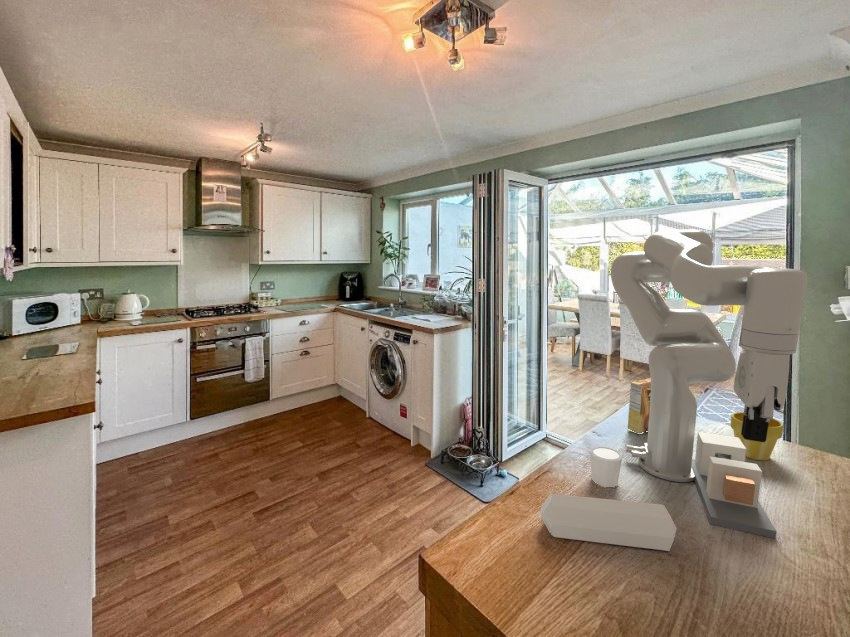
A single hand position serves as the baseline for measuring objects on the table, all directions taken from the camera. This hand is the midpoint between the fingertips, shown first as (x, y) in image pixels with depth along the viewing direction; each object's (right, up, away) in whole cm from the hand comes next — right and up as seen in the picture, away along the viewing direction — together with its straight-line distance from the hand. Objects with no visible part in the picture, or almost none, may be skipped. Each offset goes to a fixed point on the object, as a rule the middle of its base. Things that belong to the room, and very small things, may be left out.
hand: (753, 438), depth 71 cm
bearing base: (+6, -17, +15) cm, 23 cm away
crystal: (-25, -20, +4) cm, 32 cm away
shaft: (+7, -13, +15) cm, 21 cm away
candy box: (+6, -12, +47) cm, 49 cm away
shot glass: (-17, -17, +21) cm, 32 cm away
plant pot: (+27, -14, +32) cm, 44 cm away
